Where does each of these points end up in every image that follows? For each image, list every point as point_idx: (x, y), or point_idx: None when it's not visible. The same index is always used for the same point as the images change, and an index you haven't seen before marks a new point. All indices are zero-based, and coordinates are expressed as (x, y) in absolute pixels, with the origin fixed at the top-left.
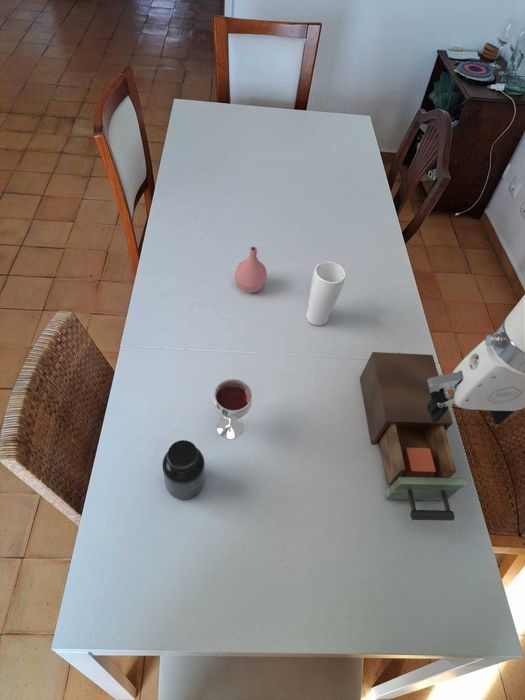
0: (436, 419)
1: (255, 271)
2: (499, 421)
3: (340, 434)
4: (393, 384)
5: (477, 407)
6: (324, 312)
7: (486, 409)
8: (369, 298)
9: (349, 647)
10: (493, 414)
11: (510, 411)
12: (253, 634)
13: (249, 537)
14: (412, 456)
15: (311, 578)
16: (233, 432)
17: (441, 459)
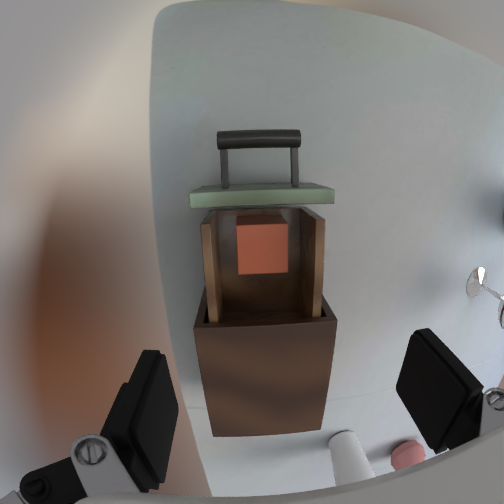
0: (436, 339)
1: (413, 464)
2: (151, 365)
3: (358, 290)
4: (301, 389)
5: (471, 474)
6: (349, 451)
7: (396, 489)
8: (264, 467)
9: (373, 15)
10: (168, 388)
11: (123, 435)
12: (460, 53)
13: (474, 144)
14: (279, 254)
15: (416, 86)
16: (477, 275)
17: (215, 253)
